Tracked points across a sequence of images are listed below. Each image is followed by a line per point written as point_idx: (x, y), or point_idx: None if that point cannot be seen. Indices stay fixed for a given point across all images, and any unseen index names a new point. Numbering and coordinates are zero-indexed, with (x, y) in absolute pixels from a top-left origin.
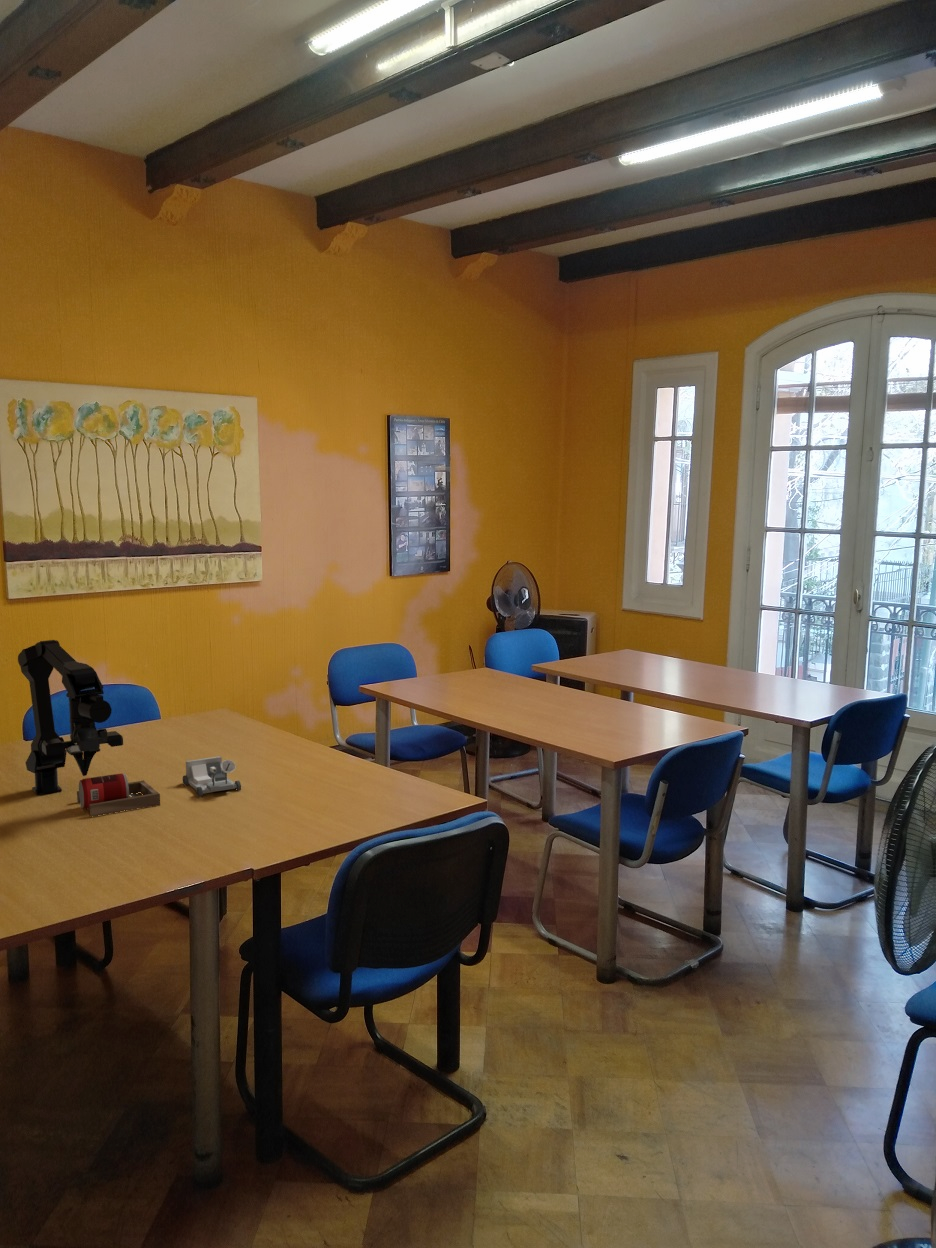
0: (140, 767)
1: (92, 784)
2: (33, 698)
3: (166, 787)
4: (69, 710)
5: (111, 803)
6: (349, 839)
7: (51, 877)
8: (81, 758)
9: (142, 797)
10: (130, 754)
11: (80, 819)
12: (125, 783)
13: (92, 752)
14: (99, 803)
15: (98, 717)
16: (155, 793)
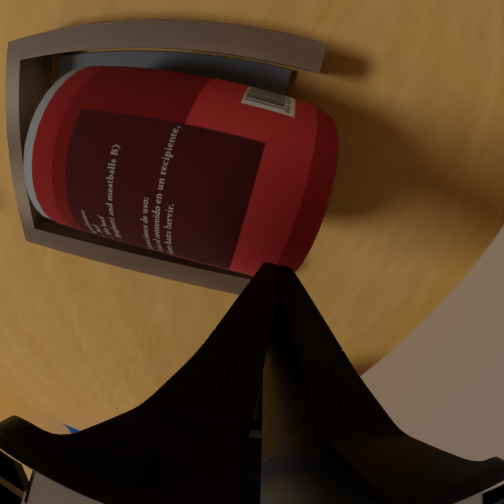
0: (60, 353)
1: (265, 142)
2: None
3: (3, 207)
4: None
5: (207, 21)
6: None
7: None
8: (337, 417)
9: (61, 29)
10: (80, 395)
11: (365, 63)
12: (61, 86)
13: (154, 474)
14: (267, 46)
15: None
16: (14, 55)
